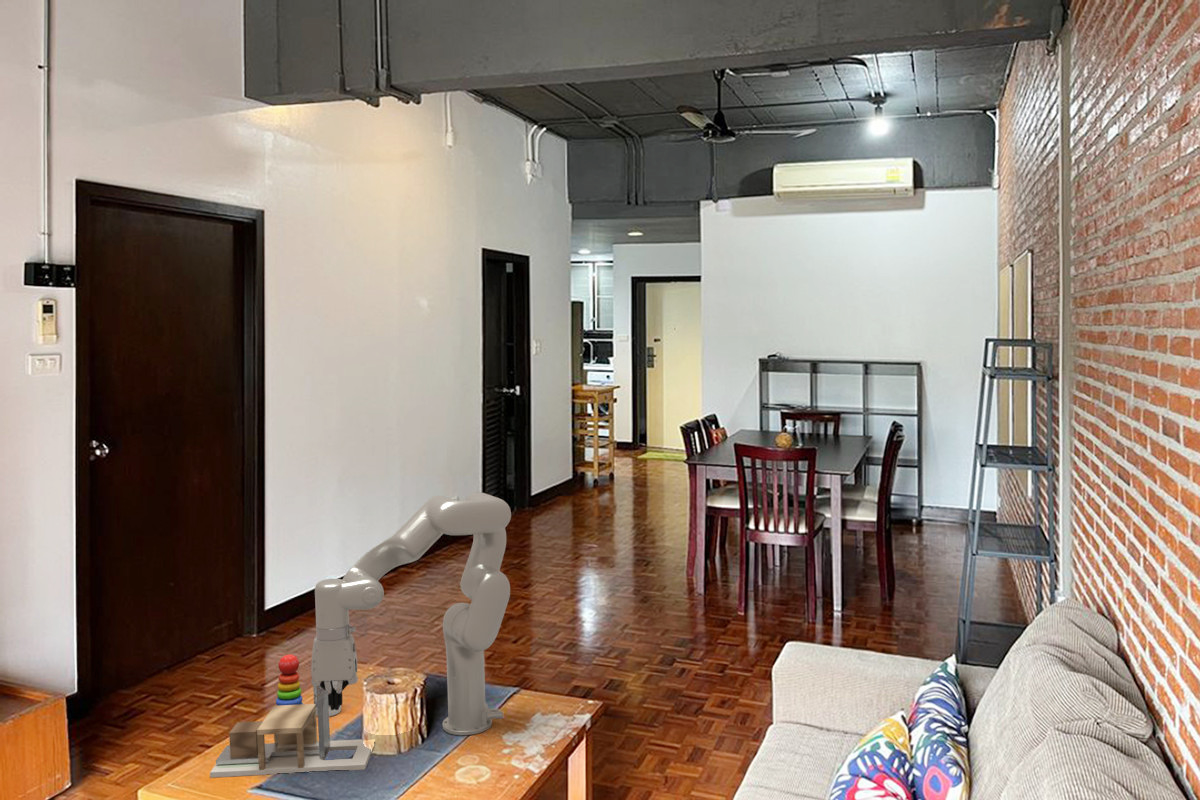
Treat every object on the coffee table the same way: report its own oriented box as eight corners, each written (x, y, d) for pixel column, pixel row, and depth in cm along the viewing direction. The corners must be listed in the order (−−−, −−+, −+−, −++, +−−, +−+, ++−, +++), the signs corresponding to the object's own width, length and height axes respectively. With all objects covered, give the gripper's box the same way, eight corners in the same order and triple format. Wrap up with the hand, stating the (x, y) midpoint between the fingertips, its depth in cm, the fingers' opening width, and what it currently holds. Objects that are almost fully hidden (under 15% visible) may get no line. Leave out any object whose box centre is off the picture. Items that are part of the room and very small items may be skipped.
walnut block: (264, 745, 225) (262, 721, 225) (256, 756, 219) (255, 731, 219) (238, 746, 225) (237, 722, 225) (230, 757, 219) (229, 732, 219)
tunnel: (317, 741, 230) (315, 703, 230) (303, 767, 216) (301, 727, 216) (275, 743, 230) (274, 705, 229) (259, 769, 216) (257, 729, 215)
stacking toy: (287, 735, 237) (284, 662, 236) (266, 728, 241) (263, 657, 240) (312, 723, 244) (309, 653, 243) (291, 717, 248) (288, 648, 247)
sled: (331, 744, 228) (328, 688, 227) (323, 759, 220) (321, 701, 219) (227, 749, 226) (224, 692, 225) (216, 764, 218) (213, 705, 217)
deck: (375, 743, 231) (375, 738, 231) (365, 769, 217) (364, 764, 217) (229, 750, 229) (229, 745, 229) (210, 777, 215) (209, 772, 215)
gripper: (367, 626, 226) (370, 700, 227) (304, 628, 225) (307, 703, 226) (362, 636, 218) (364, 713, 220) (296, 638, 217) (299, 715, 219)
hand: (335, 707), depth 223 cm, fingers closed
